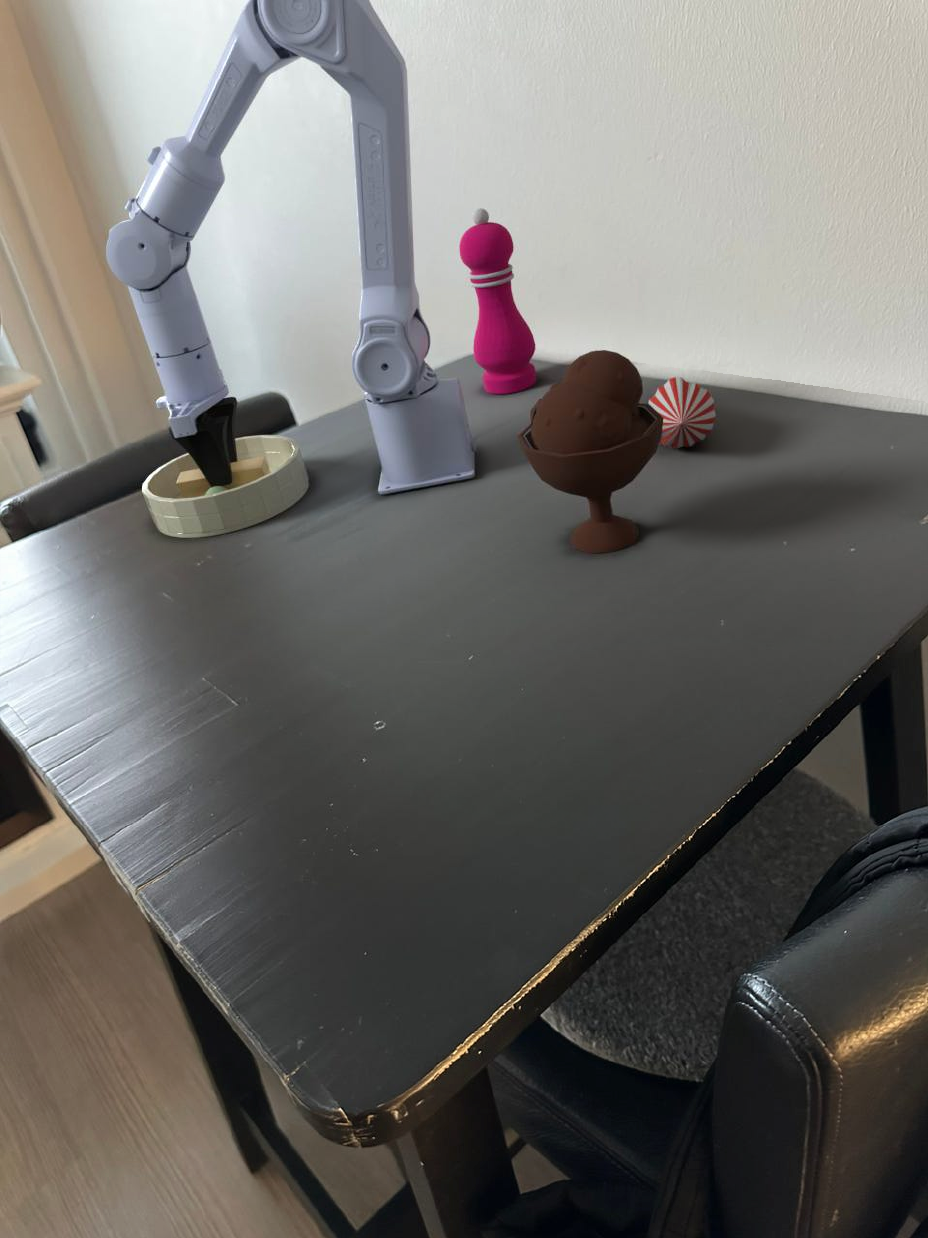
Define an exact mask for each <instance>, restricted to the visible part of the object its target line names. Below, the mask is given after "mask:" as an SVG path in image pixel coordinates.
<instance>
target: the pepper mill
mask: <svg viewBox="0 0 928 1238" xmlns="http://www.w3.org/2000/svg"><path fill="white" fill-rule="evenodd" d="M489 219H490V214H489V212H488V210H487V209H485V208H477V209H476V210H474V212H473V214H472V221H473V223H474V224H475V225H472V226H471V227H469V228H468V229H467V230H466V231H465V232H464V233H463V234H462V237H461V239H460V241H459V247H458V248H459V256H460V259H461V262H462V263H463V264H464V265H465V266H466V267H467V268H468V269H469V270H470V272H469V273H468V278H469V280H470V282H469V285H470V286H471V287H472V288H474V290H475V294H476V297H477V304H478V318H477V319H478V320H477V325H476V328H475V332H474V338H473V347H472V349H473V356H474V361H475V362H476V364H477V365H478V366H479V367H481V368H482V369H483V370H484V371H485V372H484V373H483V374H482V377H481V378H482V383H483V387H484V390H485V392H486V393H488V394H490V395H491V394H492V395H509V394H514V393H518V392H522V391H524V390H527V389H529V388H531V387H533V386H534V385H535V384H536V382H537V381H538V379H537V373H536V372H537V371H536V366H535V365H534V364H533V363H531V362H530V361H531V360H532V359H533V357H534V354H535V351H536V342H535V338H534V334H533V333H532V330H531V329H530V327H529V325H528V324H527V322H526V320H525V319H524V317H523V316H522V314H521V312H520V311H519V309H518V307H517V305H516V302H515V299H514V295H513V294H514V293H513V291H512V280H513V279H514V278H515V274H514V273H513V265H512V264H510V263H509V262H510V259H511V257H512V255H513V253H514V247H515V246H514V241H513V237H512V235H511V233H510V232H509V231H508V228H506V227H505V226H504V225H502V224H500V223H497V222H492V221H490V220H489Z"/></svg>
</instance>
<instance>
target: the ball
mask: <svg viewBox="0 0 928 1238" xmlns="http://www.w3.org/2000/svg"><path fill="white" fill-rule="evenodd" d="M226 490H227V489H226V488H224V487H221V486H215V487H212V488H210V489H209V490H208V491H207V492H206V494H205V495H211V494H215V493H219V492H222V491H226Z"/></svg>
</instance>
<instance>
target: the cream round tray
mask: <svg viewBox="0 0 928 1238" xmlns="http://www.w3.org/2000/svg"><path fill="white" fill-rule="evenodd" d="M235 442H236V451H237V460H238V461H243V460H249V459H254V458H260V457H265V458H266V461H267V464H268V467H269V470H270V472H271V473H269V474H267V475H265V476H263V477H261V478H259V479H257V480H255V481H252V482H250V483H247V484H244V485H242V486H239V487H236V488H233V489H230V490H226V491H222V492H219V493H215V494H211V495H205V496H200V497H194V498H182V497H181V494H180V492H179V489H178V487H177V484H176V482H177V480H178V478H179V475H180V473H181V472H184V471H190V470H195V469H199V467H198V466H197V464H196V463H195V461H194V460H193V458H192V457H191V456H190V454H189V453H188V452H187V453H184V454H182V455H180V456H178V457H176V458H174V459H171V460H170V461H168V462H166V463H164V464H162V465H161V466H159V467H158V468H156V470H153V472H152V473H151V474H149V475H148V476H147V477H146V479H145V481H144V482H143V483H142V488H141V490H142V491H141V493H142V496H143V497H144V500H145V503H146V505H147V508H148V510H149V513H150V516H151V519H152V521H153V523H154V524H155V527H156V529H157V530H158V531H159V532H160V533H162V534H163V535H166V536H168V537H173V538H178V539H179V538H182V539H194V538H195V539H197V538H198V539H199V538H207V537H212V536H218V535H224V534H228V533H233V532H236V531H239V530H242V529H246V528H249V527H252V526H255V525H257V524H260V523H262V522H265V521H267V520H269V519H271V518H273V517H275V516H277V515H279V514H281V513H283V512H284V511H286V510H288V509H289V508H291V507H292V506H294V505H295V504H296V503H298V502H299V501H300V500H301V499H302V498H303V497H304V496H305V494H306V493H307V491H308V489H309V487H310V481H309V480H310V479H309V476H308V471H307V469H306V466H305V462H304V459H303V455H302V451H301V449H300V445H299V443H298V441H296V440H295V439H292V438H291V437H289V436H284V435H279V434H257V435H249V436H248V435H247V436H242V437H235Z"/></svg>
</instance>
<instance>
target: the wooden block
mask: <svg viewBox="0 0 928 1238" xmlns="http://www.w3.org/2000/svg"><path fill="white" fill-rule="evenodd" d="M230 465H231V470H232V483H231V484H230V485H225V486H221V487H224V488H226V489H227V490H230V489H233V488H236V487H239V486H242V485H244V484H247V483H250V482H252V481H255V480H257V479H259V478H261V477H263V476H265V475H267V474H269V473H271V472H270V470H269V467H268V464H267V461H266V458H265V457H260V458H254V459H249V460H243V461H238V462H233V463H230ZM176 484H177V487H178V489H179V492H180V494H181V497H182V498H194V497H200V496H205V494H206V492H207V491H208V490H209V489H210V488H212V487H211V486H210V484H209V483H208V481H207V480H206V478H205V477H204V475H203V474H202V472H201V470H200V469H195V470H190V471H184V472H181V473H180V475H179V478H178V480H177V482H176Z"/></svg>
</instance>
